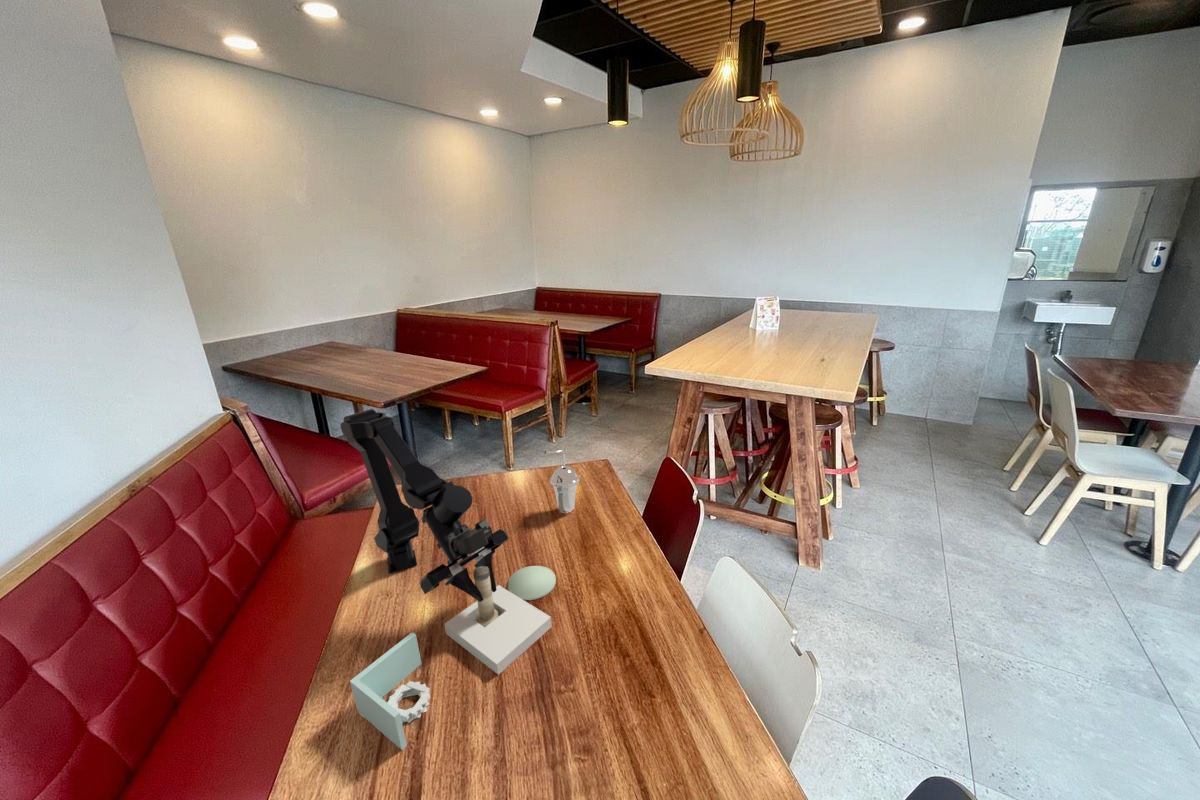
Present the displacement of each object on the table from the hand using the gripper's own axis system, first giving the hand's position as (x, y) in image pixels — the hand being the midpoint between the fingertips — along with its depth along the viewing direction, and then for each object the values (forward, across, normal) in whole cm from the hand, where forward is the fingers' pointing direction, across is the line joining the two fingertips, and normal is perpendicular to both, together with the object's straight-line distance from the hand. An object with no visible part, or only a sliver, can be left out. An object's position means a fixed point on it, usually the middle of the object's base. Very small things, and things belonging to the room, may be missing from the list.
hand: (488, 596), depth 95 cm
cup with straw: (-7, +42, +18) cm, 46 cm away
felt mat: (+3, +14, +7) cm, 16 cm away
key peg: (+4, 0, +6) cm, 7 cm away
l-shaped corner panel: (+7, -20, +4) cm, 21 cm away
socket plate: (+7, 0, +4) cm, 8 cm away
